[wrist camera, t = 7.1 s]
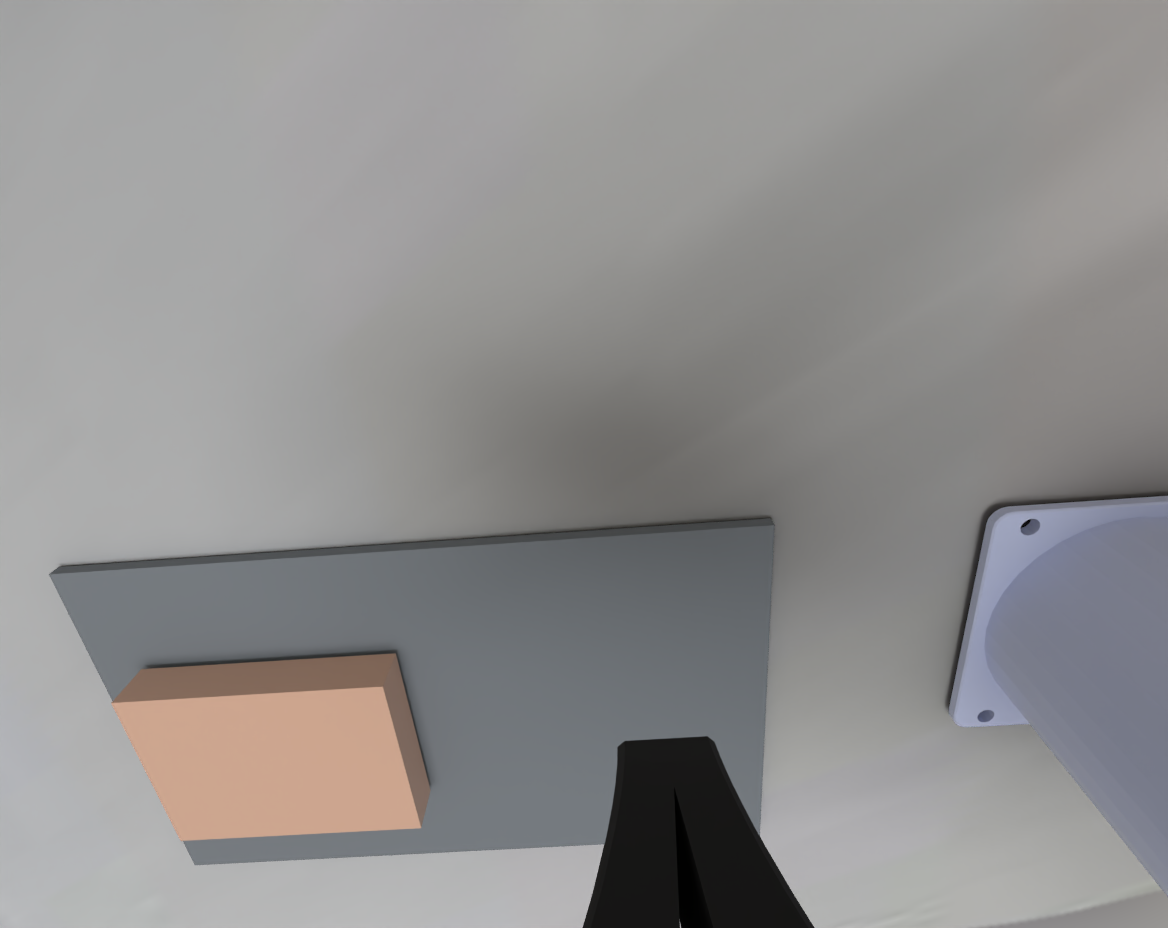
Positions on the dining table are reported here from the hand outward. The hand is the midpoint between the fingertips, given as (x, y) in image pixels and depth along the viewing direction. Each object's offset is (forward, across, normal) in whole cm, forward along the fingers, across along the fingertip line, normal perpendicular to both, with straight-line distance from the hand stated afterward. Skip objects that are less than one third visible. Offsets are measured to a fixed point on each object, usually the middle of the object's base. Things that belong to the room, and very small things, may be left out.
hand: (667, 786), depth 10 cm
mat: (+9, +6, +8) cm, 14 cm away
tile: (+8, +7, +8) cm, 13 cm away
